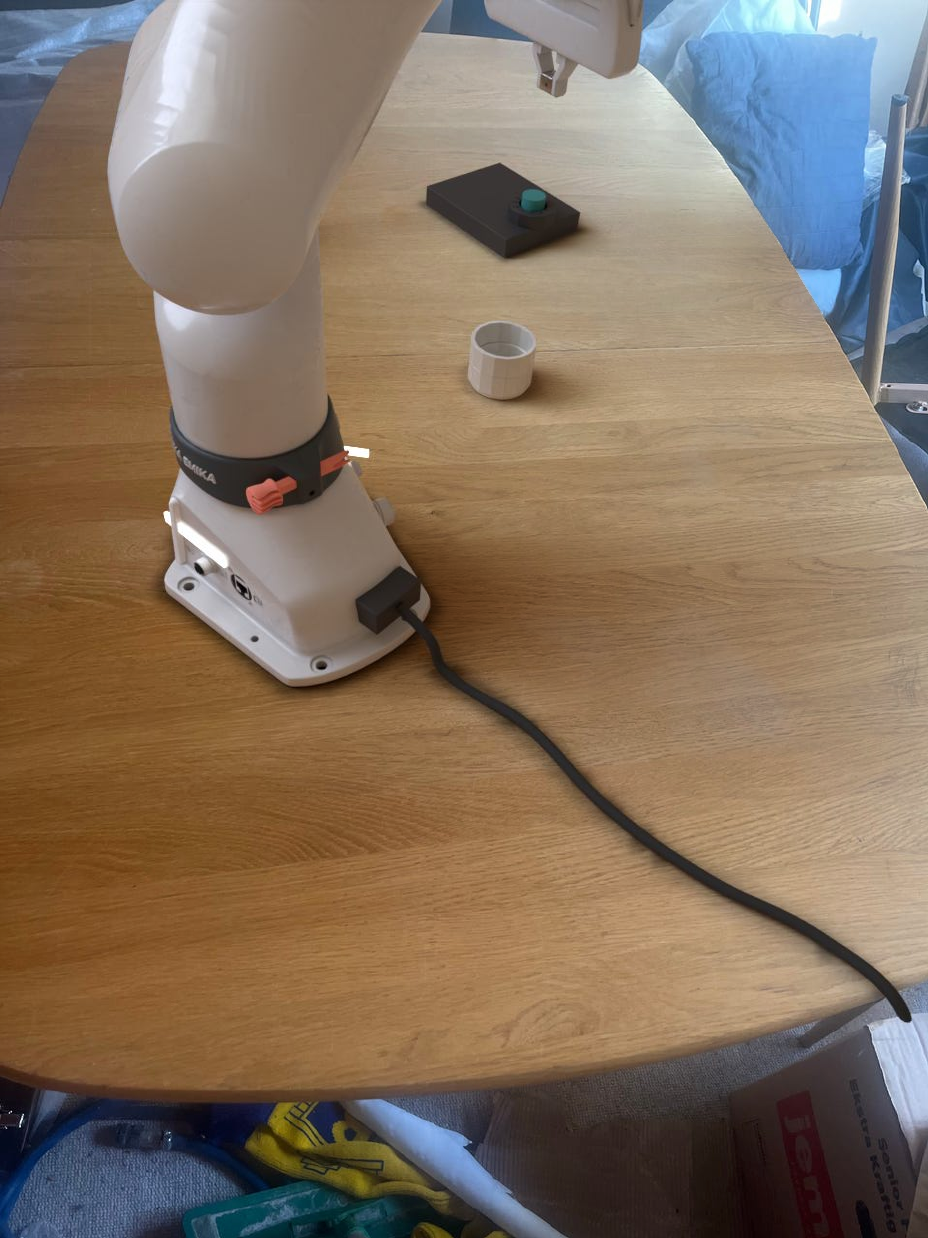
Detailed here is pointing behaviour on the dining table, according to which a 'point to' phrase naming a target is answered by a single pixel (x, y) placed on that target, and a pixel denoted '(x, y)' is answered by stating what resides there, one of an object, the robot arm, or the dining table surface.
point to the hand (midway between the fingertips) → (550, 91)
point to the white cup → (501, 359)
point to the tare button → (533, 200)
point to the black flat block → (500, 210)
